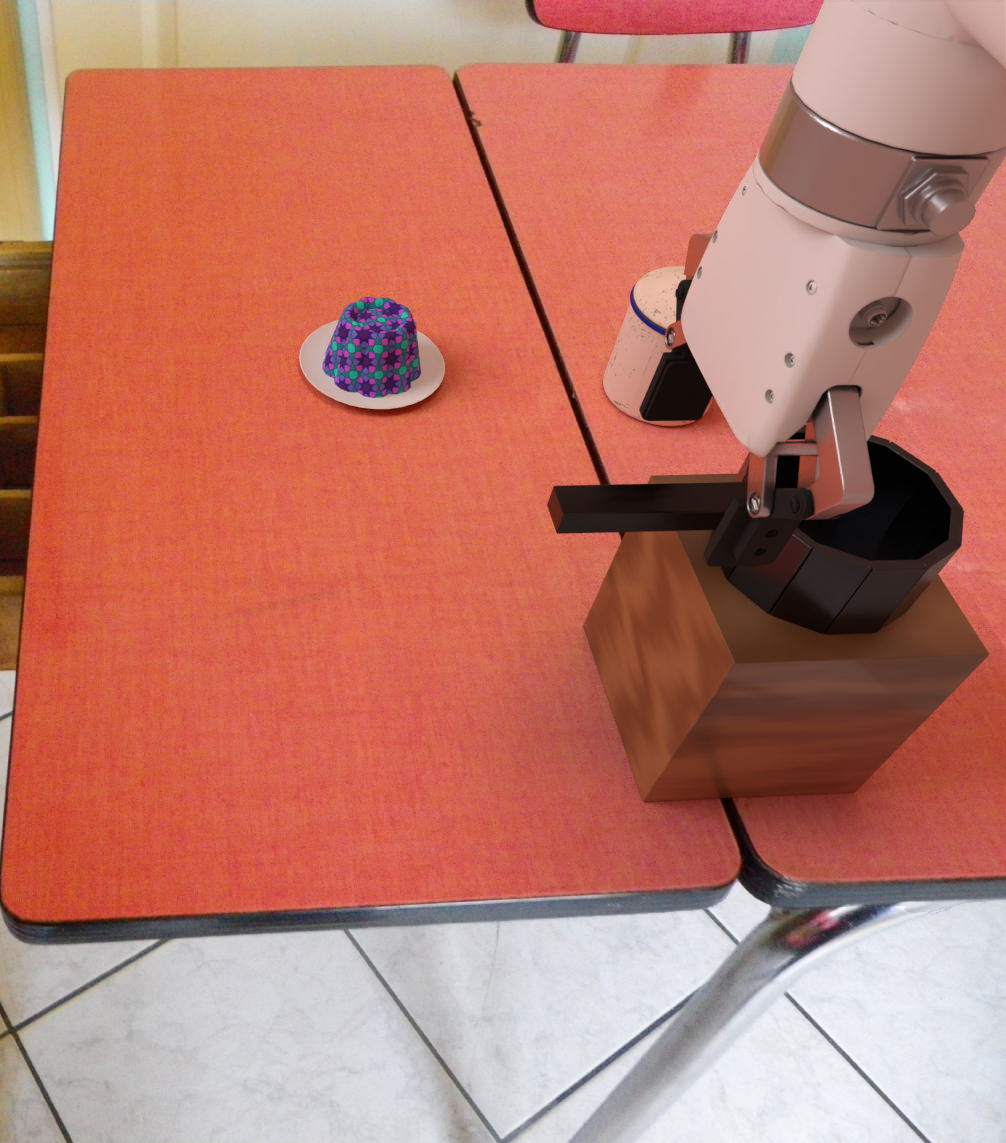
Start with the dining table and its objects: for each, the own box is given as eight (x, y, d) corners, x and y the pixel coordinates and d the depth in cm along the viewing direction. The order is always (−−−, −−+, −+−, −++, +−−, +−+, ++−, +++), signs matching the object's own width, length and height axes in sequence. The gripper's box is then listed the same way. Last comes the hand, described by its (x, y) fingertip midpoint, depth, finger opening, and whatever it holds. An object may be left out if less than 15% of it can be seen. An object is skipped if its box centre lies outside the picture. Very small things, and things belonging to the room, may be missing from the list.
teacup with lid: (729, 428, 83) (792, 305, 74) (618, 432, 82) (668, 308, 73) (676, 335, 91) (727, 213, 82) (574, 338, 90) (615, 215, 81)
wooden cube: (855, 792, 62) (990, 654, 52) (642, 801, 61) (734, 663, 51) (770, 619, 71) (871, 469, 60) (582, 625, 70) (650, 475, 59)
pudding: (407, 314, 92) (417, 262, 88) (468, 400, 84) (481, 348, 80) (278, 337, 89) (282, 284, 85) (329, 428, 82) (335, 375, 78)
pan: (858, 489, 59) (904, 422, 55) (946, 631, 52) (1004, 566, 49) (512, 496, 58) (534, 428, 54) (558, 642, 51) (586, 577, 47)
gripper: (1114, 296, 32) (849, 625, 46) (870, 45, 43) (714, 369, 57) (882, 297, 32) (682, 629, 45) (695, 43, 43) (578, 370, 56)
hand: (700, 484), depth 51 cm, fingers open, 9 cm apart
